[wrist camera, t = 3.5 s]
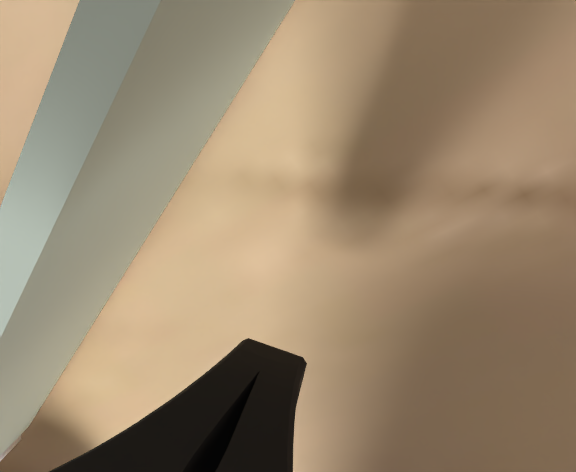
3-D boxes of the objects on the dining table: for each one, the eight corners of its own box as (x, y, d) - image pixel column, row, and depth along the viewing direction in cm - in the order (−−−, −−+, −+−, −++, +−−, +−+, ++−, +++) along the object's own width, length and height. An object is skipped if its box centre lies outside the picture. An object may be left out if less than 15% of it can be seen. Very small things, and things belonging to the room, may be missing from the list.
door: (24, 437, 20) (-111, 578, 15) (3, 421, 20) (-139, 558, 15) (319, -29, 10) (185, -28, 5) (277, -63, 10) (105, -93, 5)
